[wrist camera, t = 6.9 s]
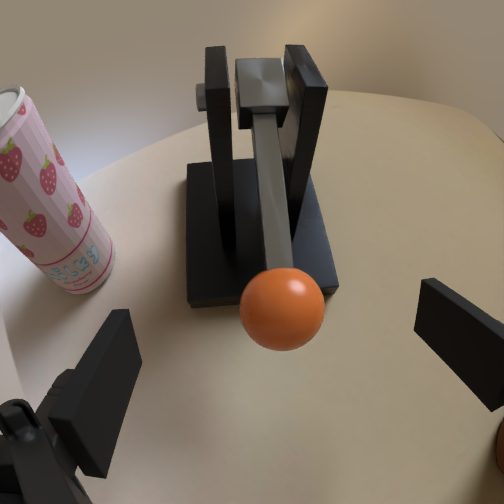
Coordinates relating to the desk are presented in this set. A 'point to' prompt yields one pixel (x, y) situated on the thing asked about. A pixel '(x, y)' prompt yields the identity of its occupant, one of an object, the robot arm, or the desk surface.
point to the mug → (500, 447)
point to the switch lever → (273, 217)
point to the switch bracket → (253, 189)
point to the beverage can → (47, 202)
